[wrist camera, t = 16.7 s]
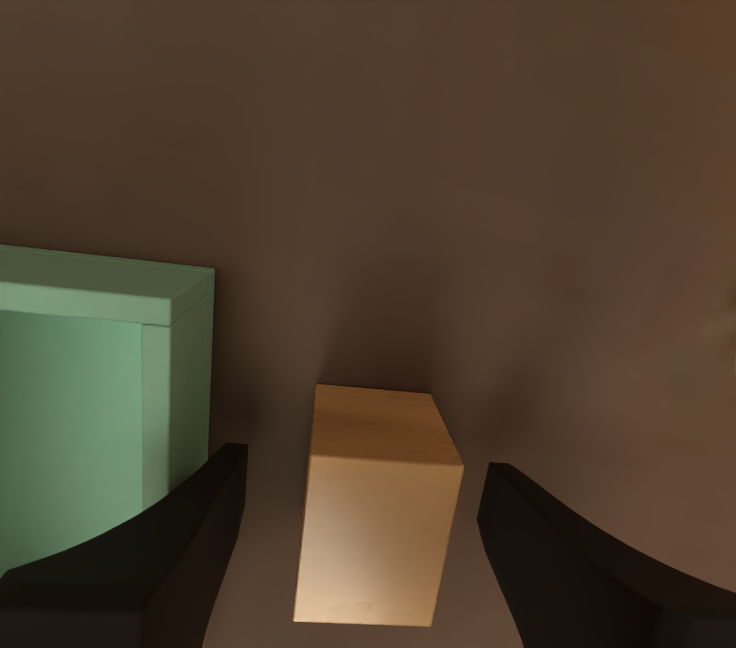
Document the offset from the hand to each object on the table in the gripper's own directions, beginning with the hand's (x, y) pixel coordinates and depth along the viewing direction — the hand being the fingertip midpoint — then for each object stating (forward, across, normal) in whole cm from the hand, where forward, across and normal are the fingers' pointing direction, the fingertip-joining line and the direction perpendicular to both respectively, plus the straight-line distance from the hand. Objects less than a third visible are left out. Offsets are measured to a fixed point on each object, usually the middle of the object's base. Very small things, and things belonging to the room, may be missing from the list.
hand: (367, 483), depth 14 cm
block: (+1, 0, 0) cm, 1 cm away
